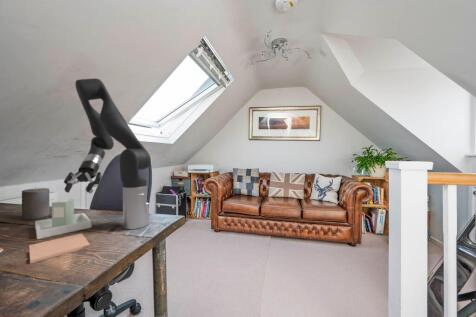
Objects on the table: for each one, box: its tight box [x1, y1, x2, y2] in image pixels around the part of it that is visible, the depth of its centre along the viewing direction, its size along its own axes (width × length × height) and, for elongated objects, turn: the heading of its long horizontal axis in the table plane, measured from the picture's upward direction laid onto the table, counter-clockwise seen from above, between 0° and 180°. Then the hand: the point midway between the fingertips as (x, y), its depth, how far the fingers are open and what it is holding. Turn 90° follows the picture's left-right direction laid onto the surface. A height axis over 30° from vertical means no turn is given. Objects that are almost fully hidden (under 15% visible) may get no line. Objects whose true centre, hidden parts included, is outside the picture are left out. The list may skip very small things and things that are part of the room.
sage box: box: [51, 198, 75, 228], centre depth 83 cm, size 5×5×11 cm
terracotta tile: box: [28, 232, 91, 264], centre depth 67 cm, size 14×14×1 cm
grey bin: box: [34, 212, 92, 240], centre depth 83 cm, size 16×16×4 cm
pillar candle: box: [21, 186, 50, 222], centre depth 99 cm, size 10×10×15 cm
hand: (77, 191), depth 92 cm, fingers open, 8 cm apart
